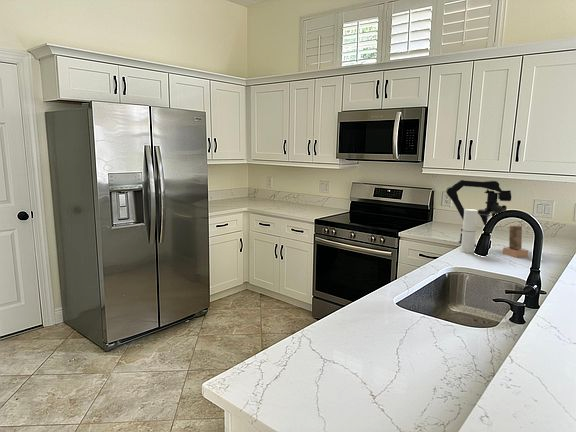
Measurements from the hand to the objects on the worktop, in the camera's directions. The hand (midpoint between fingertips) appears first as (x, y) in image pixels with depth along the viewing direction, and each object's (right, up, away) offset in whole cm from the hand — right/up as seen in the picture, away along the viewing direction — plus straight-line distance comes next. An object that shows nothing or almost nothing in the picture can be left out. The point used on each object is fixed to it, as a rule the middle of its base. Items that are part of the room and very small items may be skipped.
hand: (489, 224), depth 259 cm
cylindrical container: (-23, -16, -19) cm, 33 cm away
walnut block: (+2, -13, -26) cm, 29 cm away
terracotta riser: (+2, -17, -25) cm, 31 cm away
